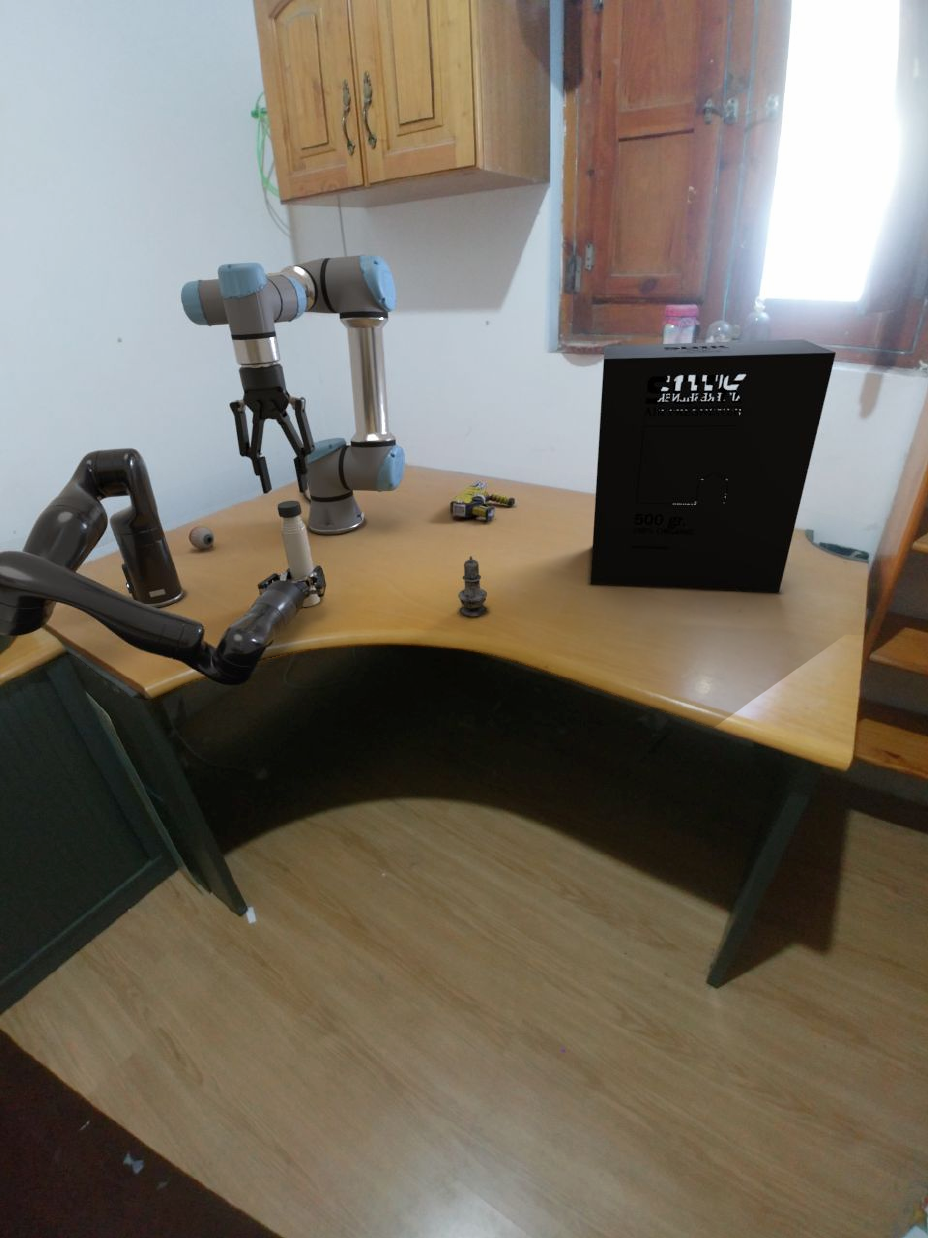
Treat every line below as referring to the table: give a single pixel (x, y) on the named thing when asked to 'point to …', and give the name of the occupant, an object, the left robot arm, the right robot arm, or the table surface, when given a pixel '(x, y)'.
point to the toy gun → (477, 502)
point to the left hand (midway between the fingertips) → (307, 569)
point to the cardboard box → (704, 462)
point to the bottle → (298, 552)
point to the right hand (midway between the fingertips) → (285, 490)
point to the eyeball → (201, 537)
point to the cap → (289, 509)
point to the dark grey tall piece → (472, 590)
